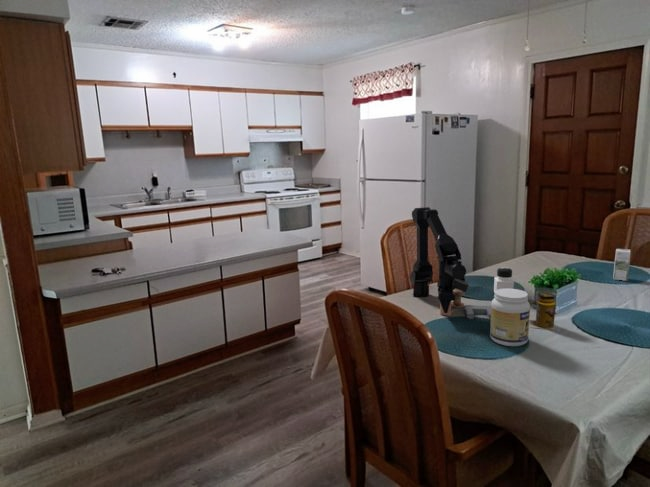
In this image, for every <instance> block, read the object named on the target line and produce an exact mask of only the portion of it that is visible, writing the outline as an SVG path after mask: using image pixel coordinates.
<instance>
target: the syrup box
mask: <svg viewBox="0 0 650 487" xmlns="http://www.w3.org/2000/svg"><path fill="white" fill-rule="evenodd" d="M614 256H615V257H614V265H613V266H614V268H613V275H612V276H613V279H612V280H613V281H619V280H622V281H621V282H628V278H629V268H630V262H631V260H630V259H631V249H628V248H625V249H624V248H616V249H615V255H614Z"/></svg>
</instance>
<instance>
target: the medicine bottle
mask: <svg viewBox="0 0 650 487" xmlns="http://www.w3.org/2000/svg"><path fill="white" fill-rule="evenodd" d="M496 272H497V274H496V276H494V278H493V279H494V281H493V282H494V283H493V292H494V294H495V291H496V290H498V289H504V288H510V289H515V281H514V280H513V269H511V268H510V267H500V268H497V271H496Z"/></svg>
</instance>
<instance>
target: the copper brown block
mask: <svg viewBox="0 0 650 487" xmlns="http://www.w3.org/2000/svg"><path fill="white" fill-rule="evenodd" d="M451 302H452V301H451ZM451 302H450V305H449V308H448V312H447V313H444V311H443V308H442V306H441V303H440V302H439V304H440V306H439V313H440V314H439V315H441V316H451V315H452V307H451Z"/></svg>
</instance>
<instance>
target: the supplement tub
mask: <svg viewBox="0 0 650 487" xmlns="http://www.w3.org/2000/svg"><path fill="white" fill-rule="evenodd" d="M528 295H529V294H528V293H527V292H526V291H525V290H521V289H518V288H514V289H510V288H504V289H498V290H496V291H495V293H494V295H493V298H492V300H491V305H490V306H491V320H490V329H489V330H490V331H489V336H490V339H491V340H492V341H493V342H495V343H497V344H498V345H501V346H507V347H520V346H523V345H525V344H527V343H528V340H529V330H530V328H529V327H530V324H529V320H530V312H531V311H530V310H531V303H530V302H529V301H528V300H529V296H528Z"/></svg>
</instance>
